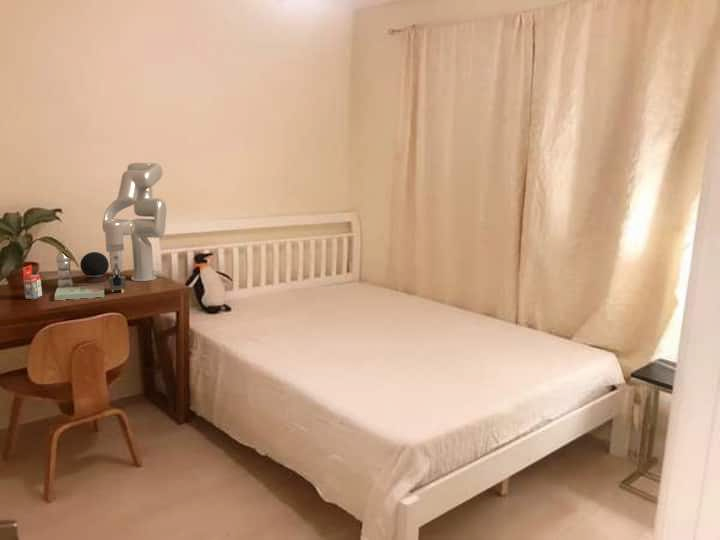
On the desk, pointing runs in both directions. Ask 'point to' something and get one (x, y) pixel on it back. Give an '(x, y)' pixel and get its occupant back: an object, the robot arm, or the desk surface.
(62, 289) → the pale green book
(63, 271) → the plastic bottle
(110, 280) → the plug
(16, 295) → the desk surface
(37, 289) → the ink box
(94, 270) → the round black speaker
